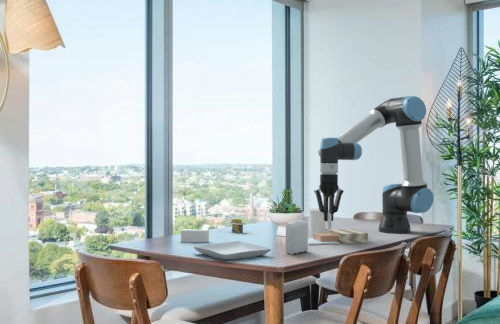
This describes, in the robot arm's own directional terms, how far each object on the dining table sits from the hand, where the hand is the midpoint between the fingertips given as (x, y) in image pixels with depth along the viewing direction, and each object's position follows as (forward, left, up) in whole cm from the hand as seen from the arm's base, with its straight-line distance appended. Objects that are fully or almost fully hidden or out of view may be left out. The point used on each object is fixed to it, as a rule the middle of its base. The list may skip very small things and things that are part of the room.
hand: (328, 228), depth 243 cm
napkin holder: (+56, -12, -6) cm, 58 cm away
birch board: (-9, 0, -5) cm, 10 cm away
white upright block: (+23, +24, -6) cm, 34 cm away
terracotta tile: (+1, 0, -5) cm, 5 cm away
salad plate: (+48, +24, -6) cm, 54 cm away
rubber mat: (+5, 0, -5) cm, 7 cm away
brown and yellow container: (+32, -37, -6) cm, 49 cm away
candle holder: (-3, -18, -6) cm, 19 cm away
